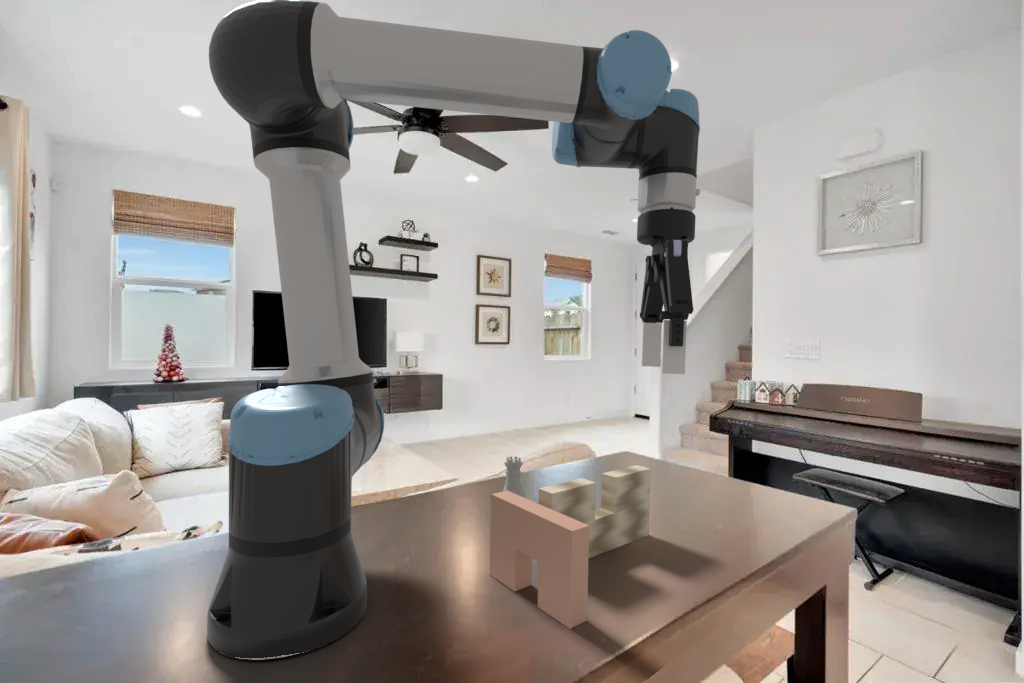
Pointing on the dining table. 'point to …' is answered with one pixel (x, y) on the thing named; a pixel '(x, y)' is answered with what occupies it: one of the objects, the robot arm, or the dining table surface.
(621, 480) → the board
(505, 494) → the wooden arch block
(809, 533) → the dining table surface
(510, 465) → the rook chess piece
